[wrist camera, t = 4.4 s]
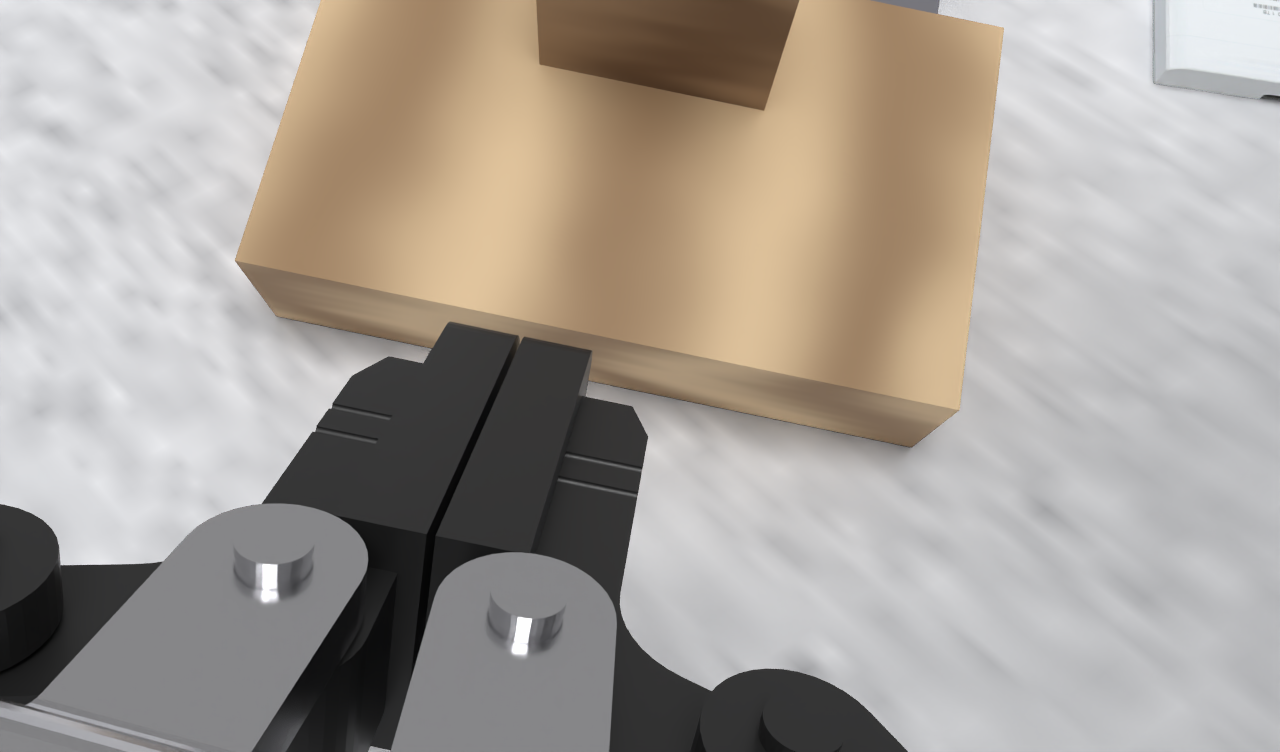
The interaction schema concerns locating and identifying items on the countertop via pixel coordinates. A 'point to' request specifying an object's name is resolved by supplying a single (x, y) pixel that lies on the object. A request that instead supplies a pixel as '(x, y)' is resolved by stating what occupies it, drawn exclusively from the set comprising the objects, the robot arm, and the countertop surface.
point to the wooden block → (646, 206)
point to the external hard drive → (1218, 46)
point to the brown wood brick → (671, 44)
